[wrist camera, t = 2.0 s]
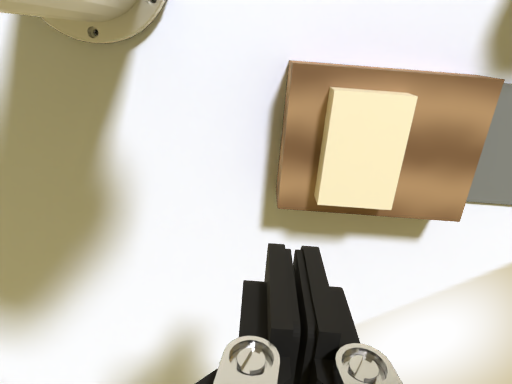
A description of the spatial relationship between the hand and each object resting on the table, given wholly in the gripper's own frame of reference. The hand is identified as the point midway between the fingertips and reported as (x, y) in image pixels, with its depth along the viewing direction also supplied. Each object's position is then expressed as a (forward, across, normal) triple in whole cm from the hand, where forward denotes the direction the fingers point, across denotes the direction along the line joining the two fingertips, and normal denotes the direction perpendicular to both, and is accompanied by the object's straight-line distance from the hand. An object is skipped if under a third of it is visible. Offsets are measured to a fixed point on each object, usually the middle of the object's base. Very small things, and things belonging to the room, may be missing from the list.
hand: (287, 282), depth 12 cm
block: (+18, -7, 0) cm, 19 cm away
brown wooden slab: (+23, -9, 0) cm, 25 cm away
